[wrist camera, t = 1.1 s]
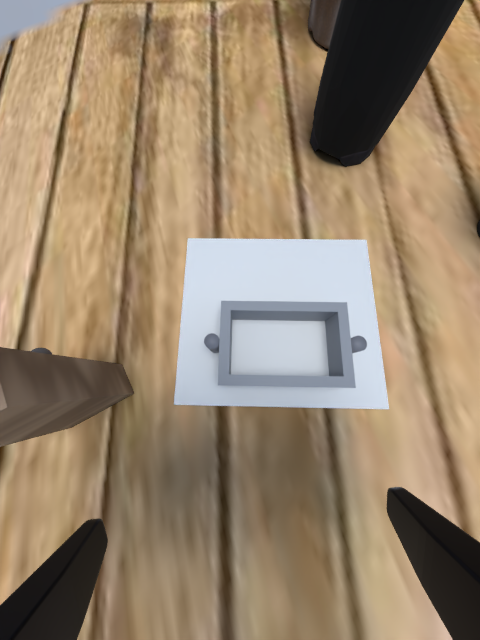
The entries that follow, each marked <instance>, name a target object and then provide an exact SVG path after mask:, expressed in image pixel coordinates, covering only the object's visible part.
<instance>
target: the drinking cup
mask: <svg viewBox="0 0 480 640" xmlns="http://www.w3.org/2000/svg"><path fill="white" fill-rule="evenodd" d="M477 231H478V234H479V237H480V220H479V222H478V225H477Z"/></svg>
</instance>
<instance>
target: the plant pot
mask: <svg viewBox="0 0 480 640" xmlns="http://www.w3.org/2000/svg"><path fill="white" fill-rule="evenodd" d="M340 2H341V0H311V5H310V12H309V19H308V29H309V31H312V33H313V37H314V40H315V41H316V42H317V43H319V44H320V45H321V46H323V47H325V48H327V49H329V45H330V41H331V37H332V34H333V30H334V26H335V22H336V18H337V14H338V10H339V6H340Z"/></svg>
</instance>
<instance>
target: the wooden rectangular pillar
mask: <svg viewBox="0 0 480 640" xmlns="http://www.w3.org/2000/svg"><path fill="white" fill-rule="evenodd" d="M132 394H134V392H133V389H132V387H131V385H130V382H129V380H128V377H127V375H126V373H125V370H124V368H123V365H122V364H116V363H109V362H101V361H94V360H87V359H80V358H73V357H66V356H59V355H52V353H51V352H50V351H49V350H48V349H46V348H36V349H34V350H32V351H31V352H30V351H23V350H16V349H9V348H2V347H0V447H1V446H5V445H8V444H12V443H16V442H20V441H23V440H27V439H31V438H34V437H38V436H42V435H46V434H49V433H53V432H57V431H60V430H64V429H68V428H72V427H74V426H75V425H77V424H79V423H81V422H83V421H85V420H86V419H88V418H90V417H92V416H94V415H96V414H97V413H99V412H101V411H103V410H105V409H106V408H108V407H110V406H112V405H114V404H116V403H117V402H119V401H121V400H123V399H125V398H127V397H128V396H130V395H132Z"/></svg>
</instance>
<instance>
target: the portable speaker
mask: <svg viewBox="0 0 480 640" xmlns="http://www.w3.org/2000/svg"><path fill="white" fill-rule="evenodd" d="M463 1H464V0H341V2H340V6H339V10H338V14H337V18H336V22H335V26H334V30H333V34H332V37H331V41H330V45H329V49H328V53H327V57H326V61H325V65H324V68H323V73H322V76H321V81H320V86H319V91H318V96H317V100H316V105H315V110H314V120H313V128H312V133H311V139H310V143H311V145H312V148H313V150H314V151H316V150H318V149H320V150H322V151H324V152H325V153H327V154H330V155H332V156H334V157H335V158H337V159H339V160H340V161H341V163H342V164H343V165H344V166H345V167H347V166H351V165H355V164H359V163H361V162H362V161H364V160H365V159H366V158H367V157H368V156H370V154H371V152H372V151H373V149H374V147H375V146H376V145H377V144H378V142H379V141H380V139H381V138H382V136H383V135H384V133H385V132H386V130H387V129H388V127H389V126H390V124H391V123H392V121H393V119H394V118H395V116H396V115H397V113H398V112H399V110H400V109H401V107H402V106H403V104H404V103H405V101H406V100H407V98H408V96H409V95H410V93H411V92H412V90H413V88H414V87H415V85H416V83H417V81H418V80H419V78H420V76H421V75H422V73H423V71H424V69H425V68H426V66H427V64H428V62H429V61H430V59H431V57H432V55H433V54H434V52H435V50H436V48H437V47H438V45H439V43H440V41H441V40H442V38H443V36H444V35H445V33H446V31H447V29H448V28H449V26H450V24H451V22H452V21H453V19H454V17H455V15H456V14H457V12H458V10H459V8H460V7H461V5H462V3H463Z"/></svg>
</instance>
